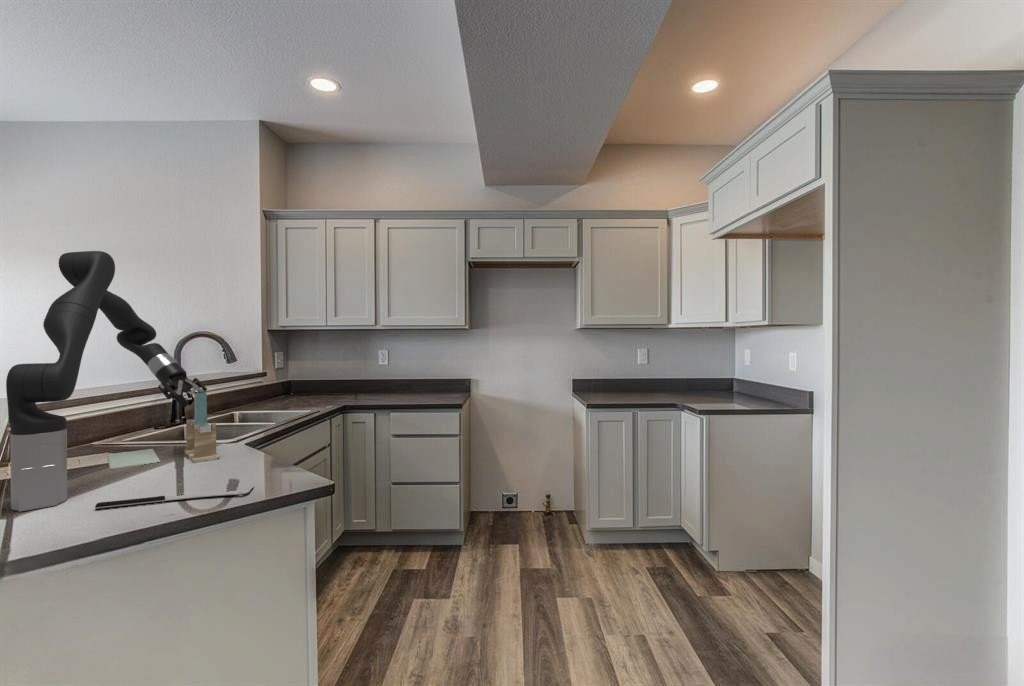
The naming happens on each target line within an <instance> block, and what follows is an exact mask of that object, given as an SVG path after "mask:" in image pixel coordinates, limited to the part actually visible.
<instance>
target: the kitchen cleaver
mask: <svg viewBox="0 0 1024 686" xmlns="http://www.w3.org/2000/svg"><path fill="white" fill-rule="evenodd" d="M250 492H251V491H250V490H239V491H229V492H216V493H204V494H193V495H182V496H181V495H180V496H170V495H169V496H165V495H159V496H149V497H142V498H141V497H139V498H130V499H122V500H120V499H119V500H112V501H111V500H109V501H101V502H97V503H96V504H95V506H94V508H95V511H102V510H101V509H105V510H111V509H110V508H114V509H120V508H119V507H123V508H129V507H128V506H132V507H138V506H137V505H142V506H147V505H146V504H151V505H155V504H154V503H159V504H163V503H162V502H165V503H166V502H168V501H177V500H179V501H180V500H185V499H187V500H189V499H197V498H206V497H207V498H208V497H219V496H220V497H223V496H233V495H234V496H238V495H245V494H249V493H250Z"/></svg>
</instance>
